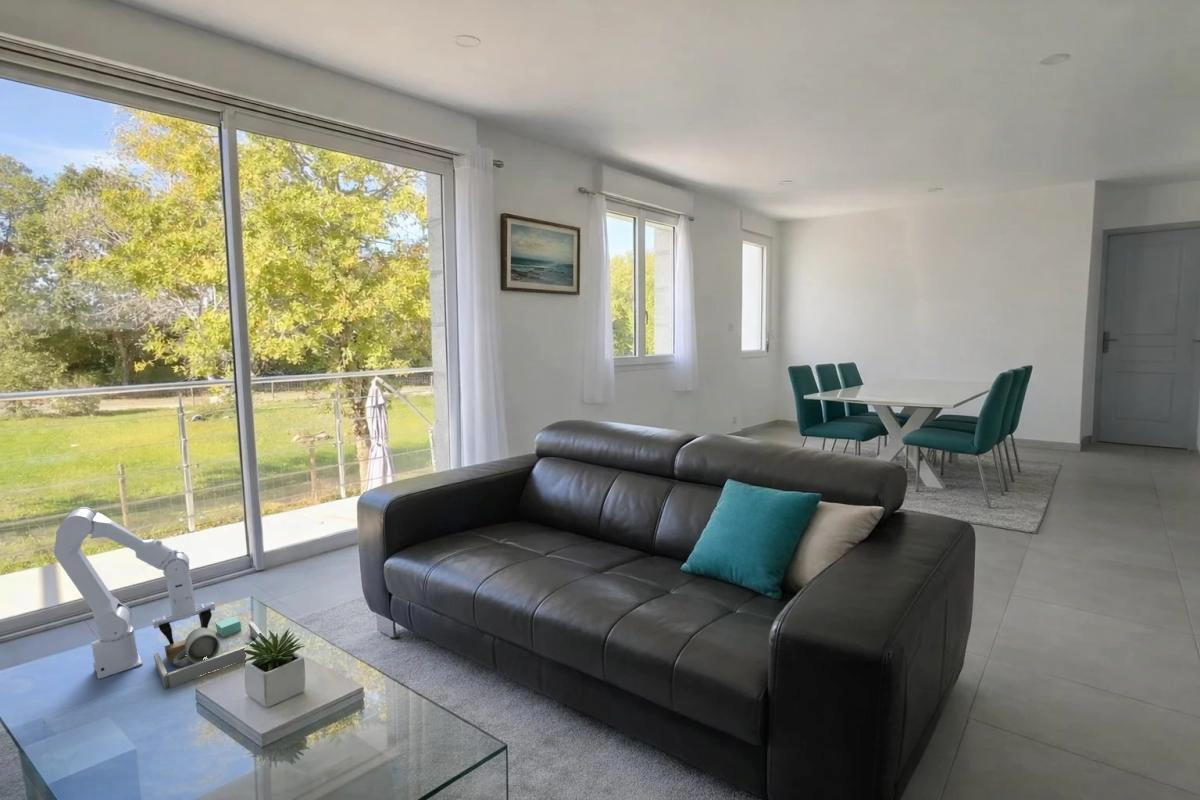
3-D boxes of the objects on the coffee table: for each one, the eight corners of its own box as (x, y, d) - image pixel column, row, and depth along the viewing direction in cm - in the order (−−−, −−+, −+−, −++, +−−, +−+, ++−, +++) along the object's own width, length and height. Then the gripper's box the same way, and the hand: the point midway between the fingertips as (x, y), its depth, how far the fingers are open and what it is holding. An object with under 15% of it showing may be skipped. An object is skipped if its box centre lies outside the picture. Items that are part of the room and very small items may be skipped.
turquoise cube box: (222, 637, 186) (221, 628, 186) (216, 632, 189) (215, 622, 189) (241, 630, 190) (240, 621, 189) (235, 625, 193) (234, 616, 193)
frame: (165, 689, 161) (163, 676, 160) (155, 666, 172) (153, 654, 171) (269, 651, 177) (267, 639, 176) (254, 632, 188) (252, 621, 187)
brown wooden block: (168, 662, 174) (166, 650, 173) (166, 658, 176) (164, 646, 175) (218, 645, 182) (216, 633, 181) (216, 641, 184) (214, 629, 183)
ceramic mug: (216, 645, 181) (212, 620, 180) (222, 657, 175) (217, 630, 174) (172, 661, 174) (167, 634, 173) (176, 673, 168) (171, 646, 167)
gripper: (152, 610, 171) (160, 658, 173) (214, 592, 180) (221, 637, 182) (148, 602, 176) (156, 648, 178) (208, 584, 185) (215, 628, 188)
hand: (188, 642), depth 181 cm, fingers open, 7 cm apart
